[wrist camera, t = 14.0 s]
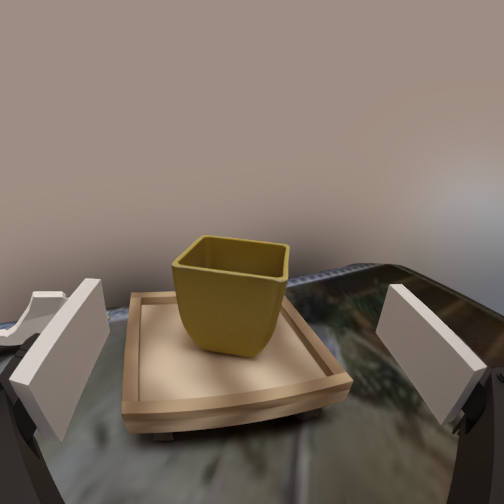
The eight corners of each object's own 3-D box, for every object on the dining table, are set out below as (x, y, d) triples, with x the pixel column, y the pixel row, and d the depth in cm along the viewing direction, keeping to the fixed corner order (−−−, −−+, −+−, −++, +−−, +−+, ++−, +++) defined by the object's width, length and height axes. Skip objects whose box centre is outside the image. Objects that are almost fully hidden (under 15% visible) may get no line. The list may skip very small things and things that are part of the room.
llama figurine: (94, 371, 35) (-25, 352, 22) (111, 300, 34) (-23, 269, 22) (97, 379, 33) (-27, 361, 21) (114, 307, 33) (-26, 276, 20)
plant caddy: (271, 325, 40) (277, 286, 38) (334, 423, 24) (353, 380, 22) (136, 334, 35) (131, 292, 33) (136, 455, 19) (121, 413, 17)
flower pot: (201, 310, 33) (202, 232, 30) (279, 322, 32) (290, 243, 29) (173, 358, 25) (168, 264, 22) (272, 375, 24) (288, 280, 21)
